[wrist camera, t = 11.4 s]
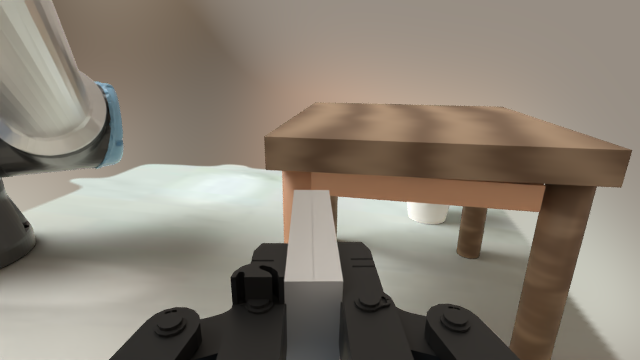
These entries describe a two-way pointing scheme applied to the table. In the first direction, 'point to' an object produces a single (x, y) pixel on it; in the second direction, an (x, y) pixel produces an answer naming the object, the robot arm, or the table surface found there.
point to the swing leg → (414, 191)
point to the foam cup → (427, 212)
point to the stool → (470, 164)
